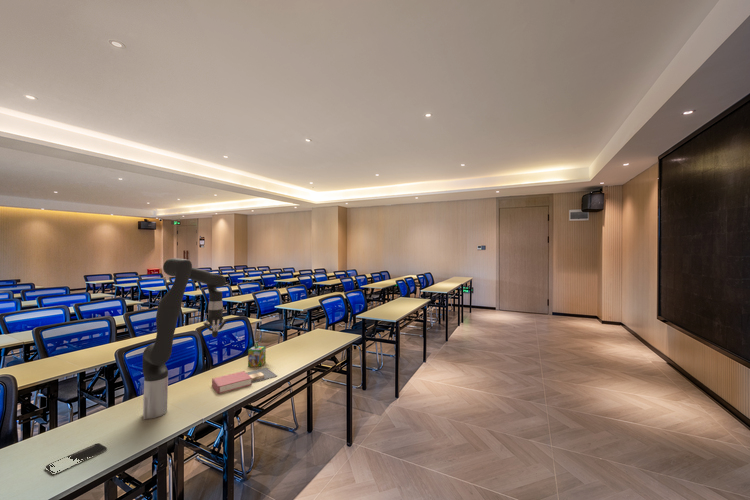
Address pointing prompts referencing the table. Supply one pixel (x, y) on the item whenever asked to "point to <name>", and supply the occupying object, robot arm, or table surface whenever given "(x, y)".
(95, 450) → the phone
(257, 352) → the chalk box
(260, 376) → the block
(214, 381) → the book deck
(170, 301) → the robot arm
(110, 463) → the table surface
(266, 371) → the desk mat
